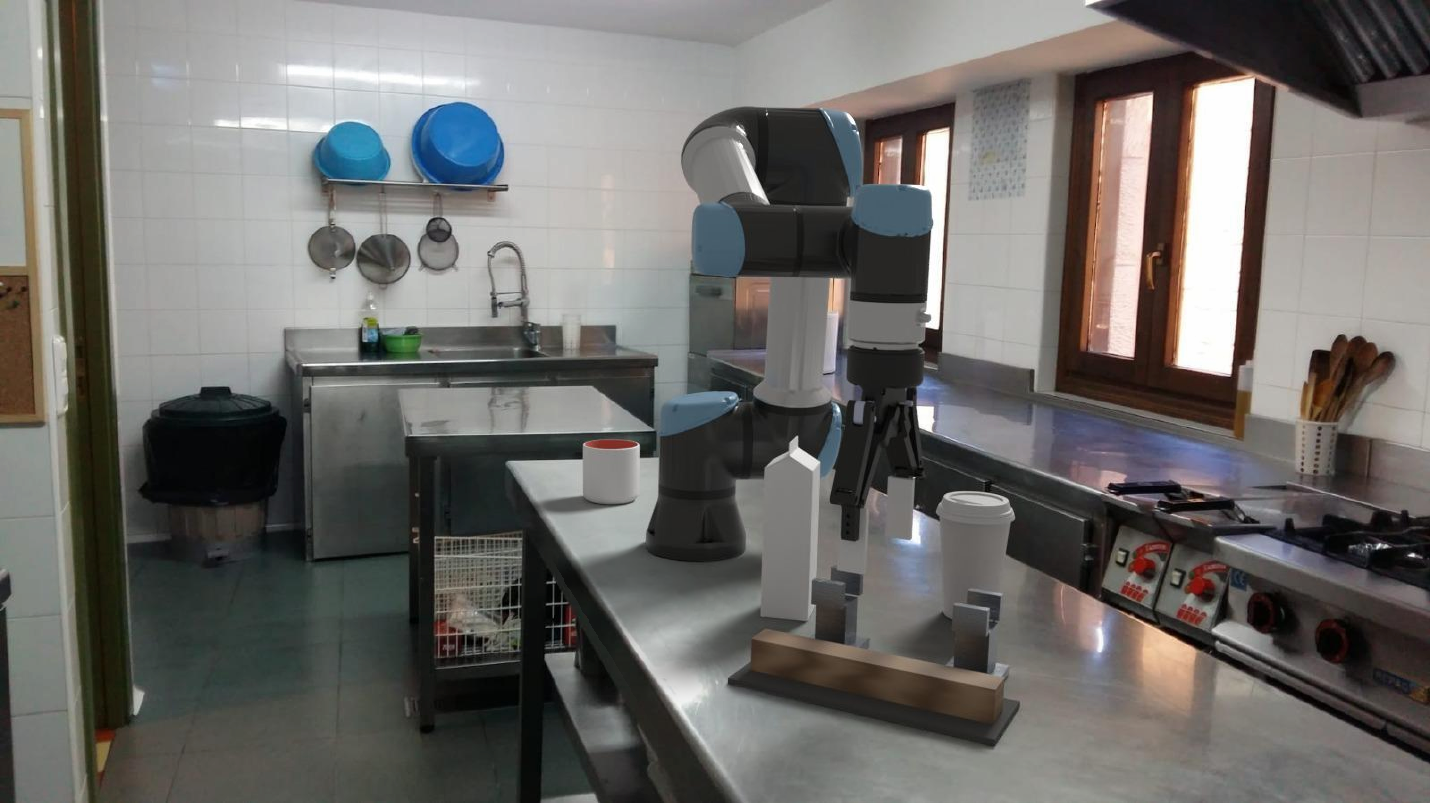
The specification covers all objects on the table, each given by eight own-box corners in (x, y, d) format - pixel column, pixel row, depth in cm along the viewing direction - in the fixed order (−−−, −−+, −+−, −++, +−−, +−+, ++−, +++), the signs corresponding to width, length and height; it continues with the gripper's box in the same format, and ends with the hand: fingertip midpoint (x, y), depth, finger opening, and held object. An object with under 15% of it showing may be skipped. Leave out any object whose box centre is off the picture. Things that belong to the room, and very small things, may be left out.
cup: (650, 498, 197) (650, 443, 195) (616, 508, 188) (616, 451, 187) (606, 490, 202) (606, 437, 201) (571, 500, 194) (571, 445, 192)
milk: (760, 617, 136) (763, 442, 132) (769, 601, 141) (773, 433, 138) (809, 622, 134) (813, 444, 131) (816, 606, 140) (821, 436, 137)
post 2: (937, 682, 116) (941, 602, 115) (955, 662, 122) (959, 586, 121) (994, 694, 113) (999, 612, 112) (1009, 673, 119) (1014, 595, 118)
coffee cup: (916, 606, 140) (921, 492, 138) (977, 598, 144) (983, 487, 142) (960, 631, 132) (967, 510, 130) (1024, 622, 136) (1032, 504, 133)
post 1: (799, 653, 124) (801, 578, 122) (822, 635, 129) (824, 563, 128) (849, 663, 121) (852, 586, 120) (870, 645, 127) (873, 571, 125)
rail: (750, 669, 117) (751, 638, 117) (764, 659, 120) (765, 628, 120) (993, 724, 105) (995, 689, 104) (1002, 711, 108) (1004, 677, 108)
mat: (727, 683, 115) (727, 677, 115) (768, 652, 124) (769, 647, 124) (994, 745, 102) (994, 739, 102) (1019, 706, 111) (1019, 701, 110)
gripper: (878, 359, 95) (867, 594, 98) (959, 337, 117) (948, 530, 120) (799, 353, 98) (791, 580, 102) (892, 332, 120) (883, 520, 123)
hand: (876, 553), depth 111 cm, fingers open, 13 cm apart
